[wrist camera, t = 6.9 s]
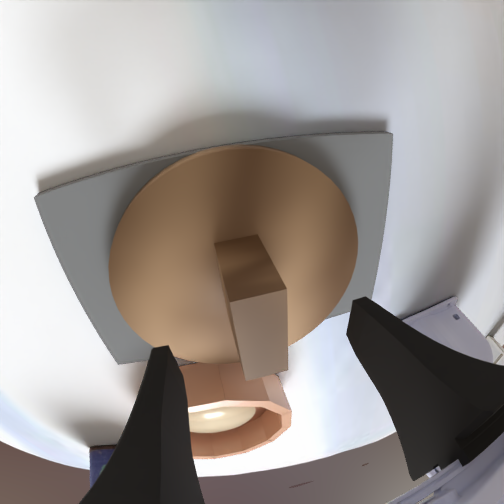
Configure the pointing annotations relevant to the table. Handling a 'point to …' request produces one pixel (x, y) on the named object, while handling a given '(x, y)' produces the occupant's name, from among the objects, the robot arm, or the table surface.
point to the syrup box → (496, 351)
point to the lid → (233, 256)
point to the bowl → (232, 409)
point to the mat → (138, 174)
